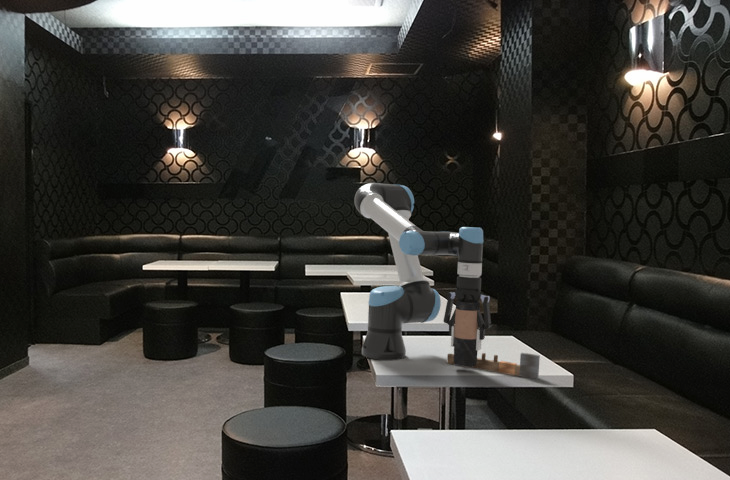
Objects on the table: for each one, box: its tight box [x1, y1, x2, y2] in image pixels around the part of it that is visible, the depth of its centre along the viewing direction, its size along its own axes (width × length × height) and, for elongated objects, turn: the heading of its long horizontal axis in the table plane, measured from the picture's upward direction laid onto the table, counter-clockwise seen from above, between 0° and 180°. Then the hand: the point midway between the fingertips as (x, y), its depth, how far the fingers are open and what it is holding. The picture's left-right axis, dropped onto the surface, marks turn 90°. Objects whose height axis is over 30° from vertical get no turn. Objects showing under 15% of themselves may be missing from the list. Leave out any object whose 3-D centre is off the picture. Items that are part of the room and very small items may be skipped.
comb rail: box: [446, 352, 541, 380], centre depth 193 cm, size 30×2×7 cm, turn 61°
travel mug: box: [453, 299, 481, 368], centre depth 190 cm, size 8×8×20 cm
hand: (465, 347), depth 191 cm, fingers closed on travel mug, 8 cm apart
